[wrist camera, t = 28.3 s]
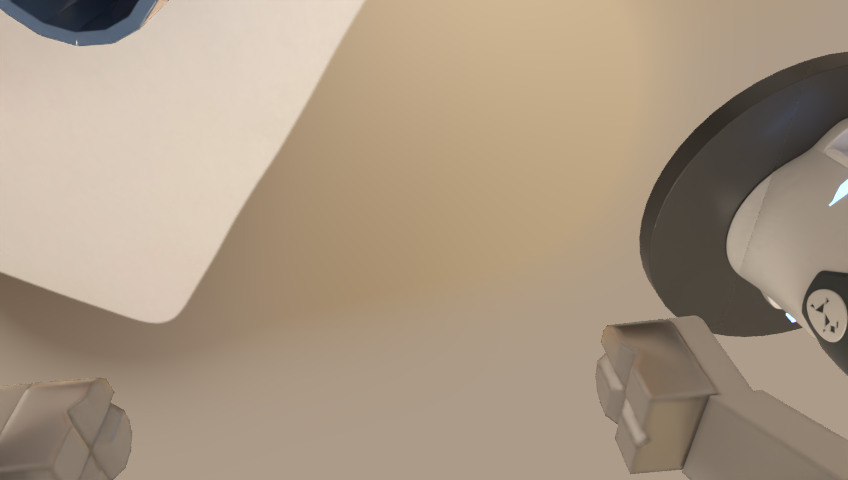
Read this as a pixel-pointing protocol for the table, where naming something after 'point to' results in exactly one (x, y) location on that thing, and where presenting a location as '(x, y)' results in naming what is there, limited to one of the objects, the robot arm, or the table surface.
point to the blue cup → (83, 18)
